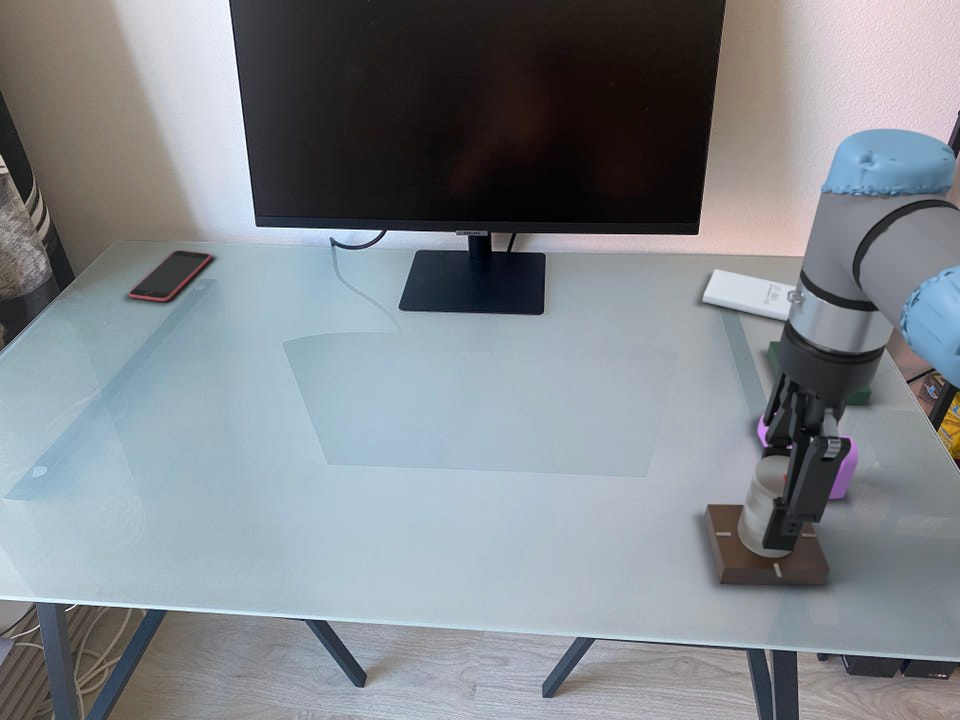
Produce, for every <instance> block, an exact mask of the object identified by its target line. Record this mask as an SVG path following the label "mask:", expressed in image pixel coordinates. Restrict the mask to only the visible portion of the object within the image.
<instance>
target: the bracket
mask: <svg viewBox="0 0 960 720" xmlns="http://www.w3.org/2000/svg"><path fill="white" fill-rule="evenodd" d="M774 415H776V413H775V414H774ZM763 418H764V414H762V415H761V417H760V419H759V422H758V425H757V429H756V431H757V435H758V437H759V440H760V441H761V443H762V445H763V447H764V448H765V447H767V446H768V444H766V442H765V434H766V432H767V430H768V428H769V427H765V426H764V424H763ZM839 437H844V438H849V439H850V441H851V449H850V452H849V453H848V455H847V456H846V457H845V459H844V460H843V461H842V463H841V466H840V469H839V471H838V474H837V477H836V480H835V483H834V485H833V488H832V491H831V494H830V496H829V499H828V500H834V499H835V500H837V499H844V497H845V494H846V492H847V489H848V487H849V485H850V483H851V480H852V477H853V476H854V473H855V471H856V468H857V466H858V462H859V451H858V447H857V444H856V442H855V440H854V438H852V436H850V435H847V434H846V435H845V434H844V435H839ZM787 448H789V449H792V446H787Z"/></svg>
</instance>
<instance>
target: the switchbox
mask: <svg viewBox="0 0 960 720" xmlns="http://www.w3.org/2000/svg"><path fill="white" fill-rule="evenodd" d="M779 343H780V340H779V341H776V340H775V341H770V342H769V345H768V348H767V351H766V355H767V358H768V361H769V363H770V366H771V368H772V372H773V374H774V377H775V378H776V376H777V373H778V370H779V367H780V366H779V364H778V362H777V350H778V346H779ZM872 393H873V392H872V389H871V387H870V384H869V385H868V386H867V387H865V388H864V389H862V390H860V391H858V392H856V393H854V394H852V395H850V396H848V397H847V398H846V405H853V406H854V405H856V406H867V405H868V403H869V401H870V398H871V396H872Z"/></svg>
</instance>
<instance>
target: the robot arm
mask: <svg viewBox="0 0 960 720" xmlns="http://www.w3.org/2000/svg"><path fill="white" fill-rule="evenodd" d="M957 166H958V165H957V159H956V157H955V150H953V149H952V147H950V146H949V145H948V144H947V143H946V142H944V141H942V140H940V139H938V138H936V137H933V136H931V135H928V134H924V133H921V132H917V131H912V130H906V129H899V128H873V129H865V130H861V131H858V132H854V133H852V134H850V135H848V136H847V137H846V138H844V139H843V140H842V141H841V142H840V143H839V145H838V146H837V148H836V150H835V152H834V156H833V160H832V162H831V165H830V168H829V170H828V174H827V176H826V180H825V182H824V183H822V185H821V186H820V196H819V199H818V202H817V207H816V210H815V213H814V218H813V223H812V225H811V228H810V233H809V237H808V240H807V244H806V248H805V252H804V255H803V258H802V263H801V269H800V272H799V274H798V277H797V283H796V290H791V291H789V292H788V295H787V300H788V301H789V302H790V303H791V306H790V310H789V316H788V317H789V318H788V319H787V320H786V321H784V326H783V328H782V333H781V336H780V339H779V342H780V343H779V346H778V350H777V362H778V364H779V366H780V367H779V370H778V373H777V376H776V377H775V381H774V383H773V386H772V388H771V389H772V390H771V392H770V396H769V399H768V402H767V405H766V407H765V408H766V409H765V412H764V413H763V415H764V418H763V424H764V426H765V427H769V428H768V430H767V432H766V434H765V442H766V444H768V446H767V447H764V449H763V452H762V454H761V458H760V460H761V459H763V458H765V457H768V456H775V455H780V456H787V457H790V460H789V465H788V470H787V475H786V481H785V486H784V491H783V496H782V497H777V499H774V498H773V507H774V508H773V511H772V514H771V517H770V520H769V523H768V526H767V529H766V532H765V535H764V538H763V541H762V545H763V549H772V550H784V551H793V550H794V547H795V544H796V542H797V539H798V536H799V534H800V531H801V528H802V526H803V523H804V522H811V524H814V523H815V524H820V523H821V521H822V519H823V515H824V512H825V511H826V507H827V504H828V502H829V500H830V499H829V496H830V494H831V491H832V488H833V485H834V483H835V480H836V477H837V474H838V471H839V469H840V466H841V463H842V461H843V460H844V459H845V457H846V456H847V455H848V453H849V452H850V449H851V441H850V439H849V438H844V437H839V436H840V435H839V429H838V426H839V423H840V421H841V420H842V418H843V416H844V413H845V411H846V406H847V404H846V398H847V397H848V396H850V395H852V394H854V393H856V392H858V391H860V390H862V389H864V388H865V387H867V386H868V385H869V386H870V384H871V383H872V381H873V380H874V378H875V375H876V373H877V370H878V368H879V365H880V363H881V360H882V358H883V355H884V353H885V349H886V345H887V344H888V342H889V341H890V338H891V336H892V333H893V331H894V329H895V330H896V332H898V333H899V335H900V336H901V337H902V338H903V339H904V343H906V344H908V347H909V348H910V349H911V350H912V352H913V354H915V355H916V356H917V357H919V359H923V360H925V362H927V364H929V365H930V366H931V367H932V368H933V369H934V370H935V371H937V373H939V374H940V375H941V376H942V378H944V379H945V380H946V381H947V382H949V383H950V385H952V386H953V387H956V388H957V389H959V390H960V208H959V207H958V206H956V205H955V204H954V203H953V202H951V201H950V200H948V199H947V195H948V193H949V191H951V189H952V188H953V187H954V177H955V172H956V168H957ZM775 413H776V415H774V414H775ZM787 446H788V448H787ZM790 446H792V449H789V447H790Z"/></svg>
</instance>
